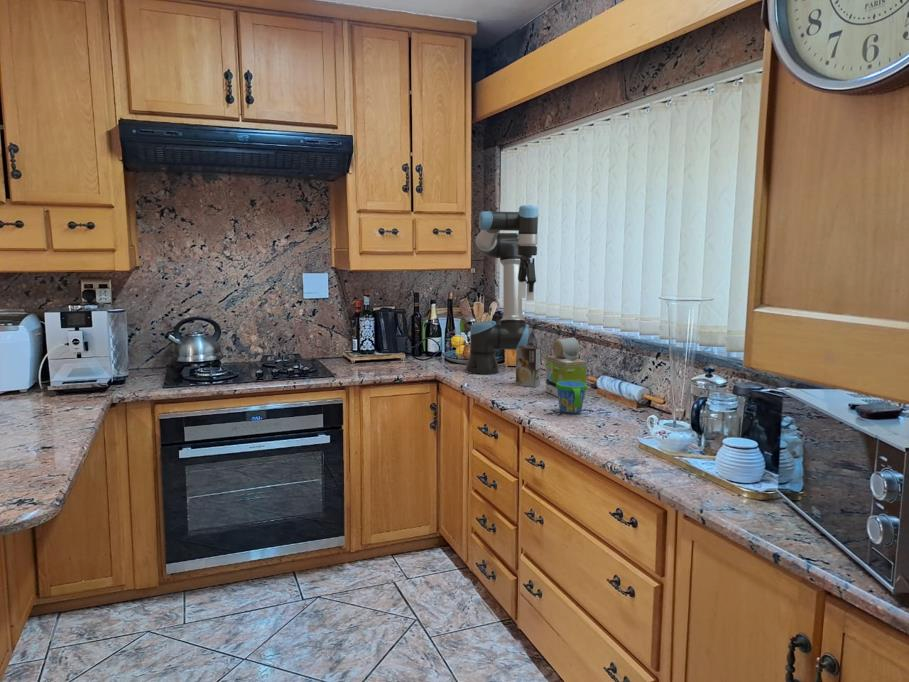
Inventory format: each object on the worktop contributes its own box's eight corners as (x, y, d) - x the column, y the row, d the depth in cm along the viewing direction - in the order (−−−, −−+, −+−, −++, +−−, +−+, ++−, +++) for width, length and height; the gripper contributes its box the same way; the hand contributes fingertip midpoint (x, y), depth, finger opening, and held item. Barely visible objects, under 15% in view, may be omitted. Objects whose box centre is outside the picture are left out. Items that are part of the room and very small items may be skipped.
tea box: (544, 392, 266) (545, 355, 264) (567, 390, 269) (568, 354, 267) (562, 400, 251) (564, 361, 249) (586, 398, 255) (587, 360, 253)
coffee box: (540, 385, 279) (542, 347, 277) (535, 387, 274) (536, 349, 272) (520, 382, 284) (521, 345, 282) (514, 385, 278) (515, 347, 276)
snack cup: (590, 417, 225) (591, 388, 224) (559, 417, 225) (560, 387, 224) (580, 406, 241) (582, 379, 240) (551, 406, 241) (552, 378, 239)
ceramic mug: (551, 356, 261) (552, 337, 260) (569, 355, 264) (570, 336, 263) (565, 361, 251) (566, 341, 250) (583, 360, 254) (584, 340, 253)
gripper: (511, 245, 274) (510, 296, 277) (525, 245, 250) (524, 301, 253) (529, 245, 275) (527, 296, 278) (545, 245, 251) (543, 301, 254)
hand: (525, 299), depth 265 cm, fingers open, 13 cm apart
